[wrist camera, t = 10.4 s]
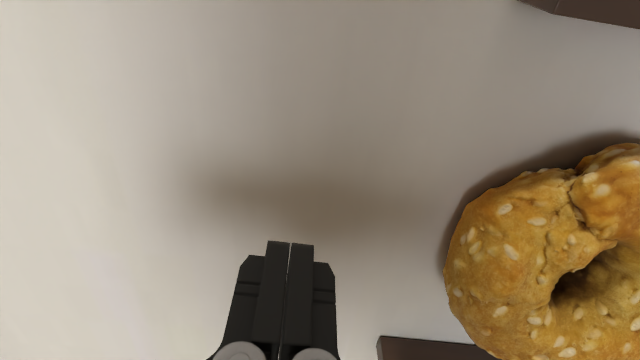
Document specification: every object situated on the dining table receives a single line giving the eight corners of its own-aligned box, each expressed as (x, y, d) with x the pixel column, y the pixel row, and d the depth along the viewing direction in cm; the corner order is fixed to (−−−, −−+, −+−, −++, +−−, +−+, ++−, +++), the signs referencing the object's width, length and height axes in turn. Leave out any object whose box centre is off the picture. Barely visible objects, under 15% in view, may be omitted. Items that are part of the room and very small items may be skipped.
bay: (527, -37, 12) (571, -28, 10) (943, 41, 13) (1061, 63, 11) (375, 345, 23) (381, 388, 21) (610, 368, 24) (637, 410, 22)
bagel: (728, 198, 17) (855, 284, 13) (528, 330, 22) (574, 420, 18) (582, 78, 14) (688, 141, 10) (390, 262, 19) (409, 352, 15)
